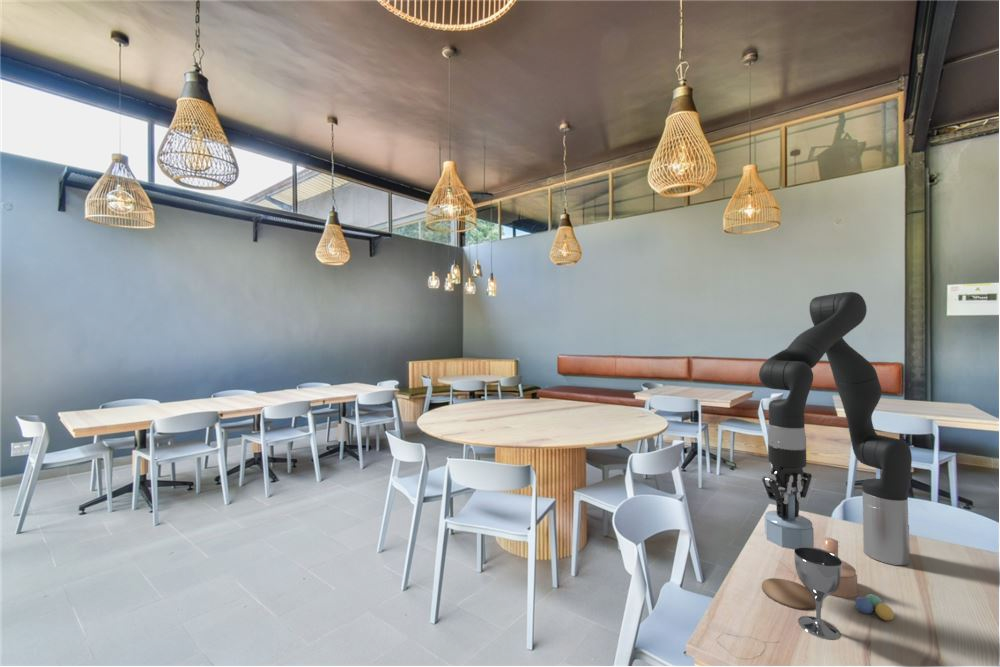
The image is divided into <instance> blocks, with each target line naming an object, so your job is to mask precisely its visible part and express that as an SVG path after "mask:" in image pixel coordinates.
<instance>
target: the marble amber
mask: <svg viewBox="0 0 1000 667" xmlns="http://www.w3.org/2000/svg"><path fill="white" fill-rule="evenodd" d="M874 611H875V613H876V615H877V616H878V617H879V618H881V619H882V620H886V621H891V620H892V619H894V617H895V613H894V610H893V609H892V608H891V607H890V606H889V605H887V604H885V603H883V604H877V605H876V606H875V610H874Z"/></svg>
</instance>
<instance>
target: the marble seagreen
mask: <svg viewBox="0 0 1000 667" xmlns="http://www.w3.org/2000/svg"><path fill="white" fill-rule="evenodd" d="M864 598H866V599H867V600H869V601H870V602H871V603H872V605H873V611H875V606H876V605H877V604H884V603H883V601H882V599H881V598H880V597H879V596H877V595H876V594H867V595H866V596H865V597H864Z"/></svg>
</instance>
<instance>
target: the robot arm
mask: <svg viewBox="0 0 1000 667" xmlns="http://www.w3.org/2000/svg"><path fill="white" fill-rule="evenodd" d="M867 312H868V311H867V303H866V300H865V299H864V297H863V296H862V295H861V294H860V293H858V292H854V291H844V292H838V293H837V292H836V293H832V294H831V293H830V294H827V295H825V294H824V295H820V296H816V297H814V298H812V299H811V300H810V302H809V315H810V318H811V321H812V323H813V326H812V327H810V328H808V329H806V330H804V331H803V332H801V333H800V334H798V335H797V336H796V337H795V338H794V339H793V341H792V342H791V343H790V344H789V345H788V346H787V348H785V349H783V350H781V351H779V352H778V353H776V354H774V355H773V356H771V357H769V358H768V359H766V360H765V361H764V362H763V364H762V365H761V367H760V368H759V373H758V378H759V381H760V383H761V385H763V386H764V387H765V388H768V389H773V390H778V391H779V390H781V391H789V394H788V395H787V397H786V398H780V399H774V400H771V401H770V402H769V403H768V430H767V458H768V459H767V460H768V462H769V463H770V464H771V471H770V475H768V476H763V477H762V479H761V481H762V483H763V486H764V488H765V491H766V493H767V496H768V498H769V499H770V500H773V501H775V502H776V511H777V515H778V517H780V518H782V519H788V504H787V503H788V495H789V494H791V493H794V494H795V517H798V516H799V515H800V513H799V512H800V502H801V500H802V498H803V499H805V498H806V497H807V495H808V491H809V488H810V483H811V480H812V477H813V476H812V474H811V473H809V472H807V471H806V472H805V471H804V470H803V468H805V467H807V435H806V428H805V408H806V404H807V400H808V397H809V395H810V394H809V393H810V391H811V387H812V385H813V381H814V372H813V370H812V369H814V367H815V366H816V365H817V364H818V363H819V361H820V360H821V359H822V358H823V357H824V356H825V354H826V357H827V360H828V364H829V366H830V368H831V373H832V376H833V380H834V383H835V385H836V389H837V393H838V395H839V398H840V402H841V404H842V406H843V411H844V414H845V417H846V418H845V419H846V422H847V427H848V432H849V436H850V442H851V447H852V451H853V453H854V456H855V457H856V459H857V461H858V462H860V463H861V464H862V465H865V466H868V467H872V468H875V469H878V470H881V474H880V478H867V479H864V480H863V481H862V484H861V486H862V488H861V489H862V490H861V491H862V492H861V493H862V534H863V535H862V542H863V545H862V546H863V553H864V554H865V555H867V556H868V557H869V558H871V559H874V560H876V561H878V562H882V563H885V564H887V565H894V566H895V565H896V566H906V565H909V564H910V559H911V557H910V555H911V554H910V524H909V500H908V499H909V498H908V497H909V496H908V495H909V491H910V489H911V483H912V482H911V479H912V474H911V472H912V462H913V459H912V458H913V457H912V451H911V448H910V446H909V444H908V443H907V442H906V441H904V440H902V439H900V438H895V437H891V436H886V435H881V434H877V432H876V430H875V428H874V424H873V419H872V418H873V417H872V416H873V414H874V411H875V409H876V407H877V405H878V404H879V402H880V400H881V397H882V394H883V392H882V391H883V390H882V386H881V383H880V379H879V376H878V373H877V369H875V367H874V366H873V364H872V363H871V362H870V361H869V360H867V359H866V358H865V357H864V356H863V355H862V354H861V353H859V352H858V351H856V350H855V349H854V348H853V347H851V345H850V344H848V343H847V342H846V340H845V339H844V337H845V336H846V335H847V334H849V333H850V332H851V331H852V330H854V329H855V328H857V327H858V326H859V325H860V324H861V323H863V321H864V320H865V318H866V316H867ZM781 493H783V497H781Z"/></svg>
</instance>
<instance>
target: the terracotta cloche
mask: <svg viewBox="0 0 1000 667" xmlns="http://www.w3.org/2000/svg"><path fill="white" fill-rule="evenodd" d="M823 550H825V551H828V552H830V553H832V554H834V555H836V556H837V557H839V541H838V540H837V539H835V538H833V537H832V538H831V537H823ZM841 561H842V576H841V582H840V585H839V587H838V589H837V590H836V591H835V592H834V593H832V594H831V595H830V596H834V597H839V598H844V599H849V598H852V597H855V596H858V574H857V572H856V571H857V570H856V569H855V568H854V566H852V564H849V563H848V562H846V561H844V560H842V559H841Z"/></svg>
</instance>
